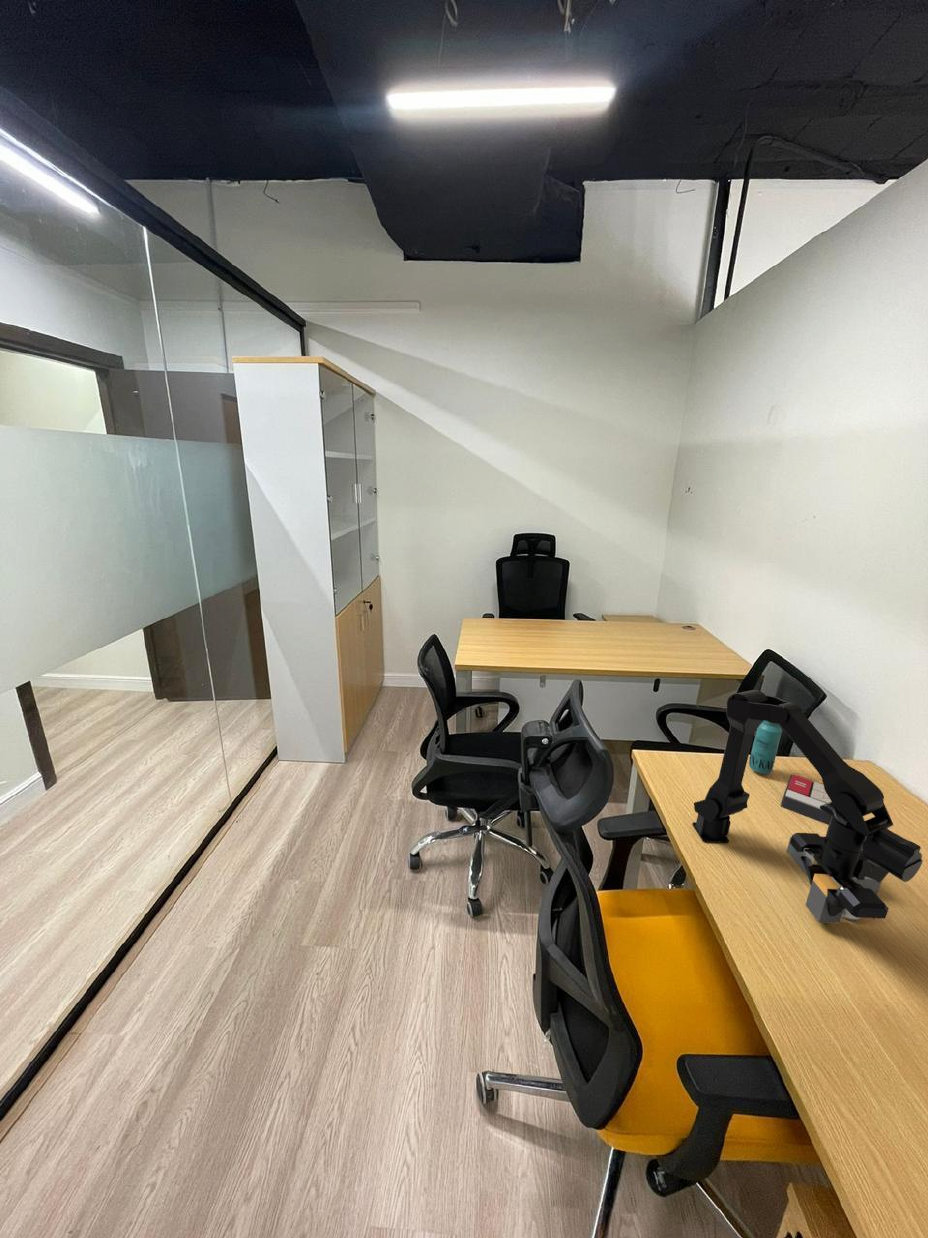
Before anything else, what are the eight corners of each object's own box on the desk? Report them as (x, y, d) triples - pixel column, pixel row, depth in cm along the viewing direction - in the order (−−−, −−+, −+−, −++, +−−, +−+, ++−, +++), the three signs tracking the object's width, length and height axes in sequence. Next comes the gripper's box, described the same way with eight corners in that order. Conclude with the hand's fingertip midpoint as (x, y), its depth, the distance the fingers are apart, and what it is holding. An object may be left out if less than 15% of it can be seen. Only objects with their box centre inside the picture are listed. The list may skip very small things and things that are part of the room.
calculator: (837, 788, 135) (833, 812, 124) (833, 801, 137) (829, 826, 125) (791, 772, 142) (783, 793, 131) (788, 785, 143) (780, 807, 132)
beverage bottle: (749, 763, 152) (762, 706, 146) (773, 772, 148) (787, 713, 142) (744, 772, 147) (758, 713, 141) (770, 781, 143) (784, 721, 137)
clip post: (839, 920, 98) (845, 901, 96) (819, 896, 103) (825, 877, 102) (869, 922, 98) (876, 902, 96) (847, 897, 103) (853, 878, 102)
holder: (820, 892, 104) (825, 877, 103) (786, 851, 116) (790, 837, 115) (876, 894, 104) (881, 879, 103) (836, 853, 116) (841, 839, 115)
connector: (818, 922, 95) (828, 890, 93) (805, 905, 99) (814, 873, 97) (839, 923, 95) (849, 891, 93) (825, 906, 99) (834, 874, 97)
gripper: (930, 882, 83) (904, 951, 88) (850, 811, 101) (832, 871, 106) (865, 880, 83) (842, 949, 88) (796, 808, 101) (780, 869, 106)
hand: (824, 906), depth 97 cm, fingers closed on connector, 4 cm apart
